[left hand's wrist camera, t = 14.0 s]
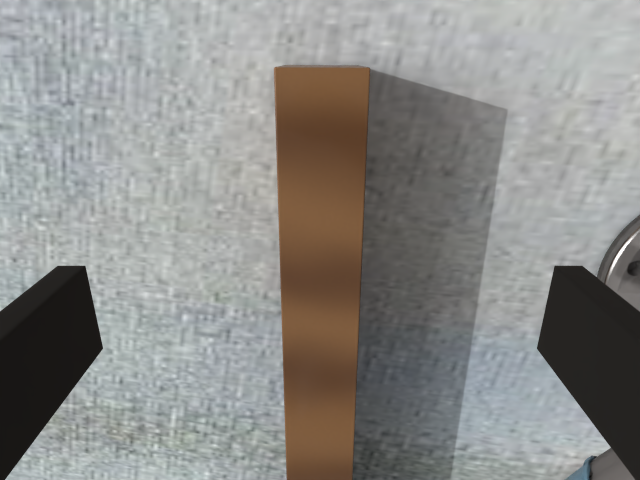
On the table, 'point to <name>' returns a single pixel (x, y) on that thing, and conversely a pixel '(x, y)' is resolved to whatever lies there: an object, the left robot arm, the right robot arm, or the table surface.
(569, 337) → the left robot arm
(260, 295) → the table surface
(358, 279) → the post
